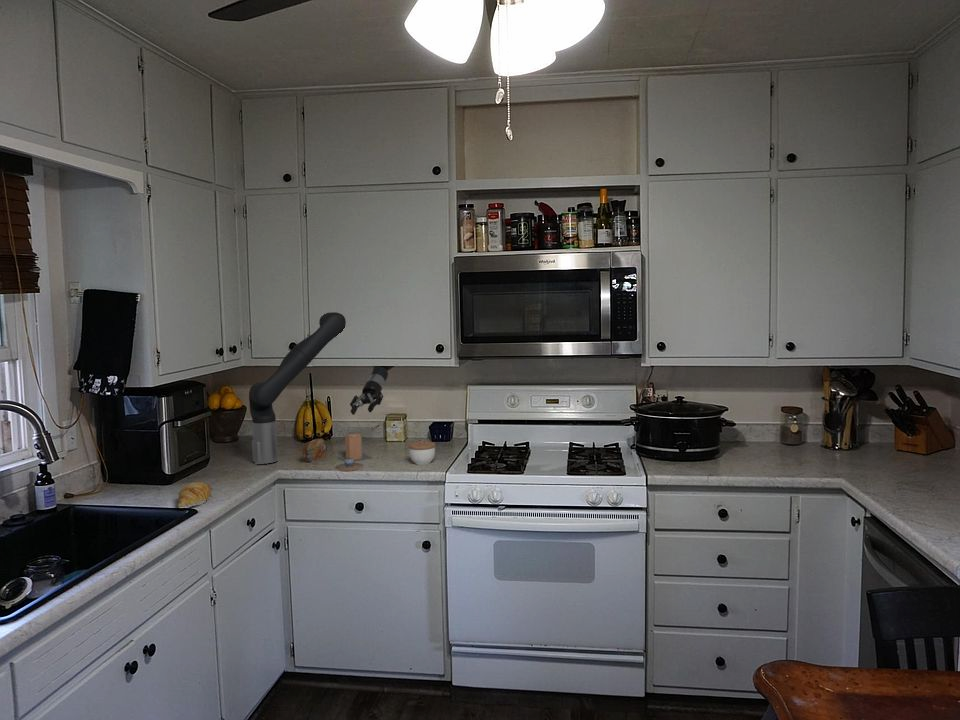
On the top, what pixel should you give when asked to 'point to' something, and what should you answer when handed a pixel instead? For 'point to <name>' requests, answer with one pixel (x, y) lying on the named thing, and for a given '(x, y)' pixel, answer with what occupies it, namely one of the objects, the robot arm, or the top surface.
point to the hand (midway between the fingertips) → (360, 412)
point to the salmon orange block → (353, 445)
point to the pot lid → (349, 465)
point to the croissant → (193, 494)
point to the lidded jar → (422, 452)
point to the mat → (355, 460)
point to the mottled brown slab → (314, 450)
